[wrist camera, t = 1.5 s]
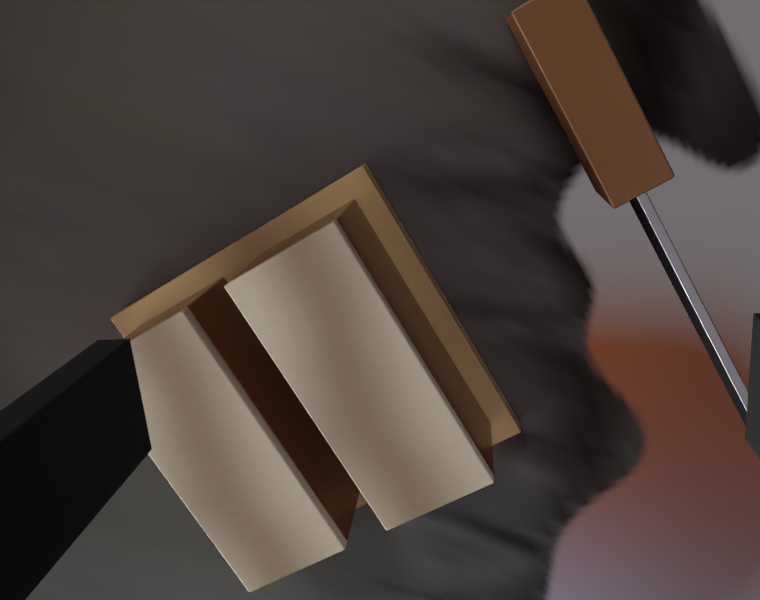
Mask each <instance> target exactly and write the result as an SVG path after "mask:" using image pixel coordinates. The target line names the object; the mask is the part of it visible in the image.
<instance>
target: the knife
mask: <svg viewBox="0 0 760 600" xmlns="http://www.w3.org/2000/svg"><path fill="white" fill-rule="evenodd" d="M506 21H507V23H508V25H509V27H510V29H511V31H512V33H513V35H514V36H515V38H516V40H517V42H518V44H519V46H520V48H521V50H522V52H523V54H524V55H525V57H526V59H527V61H528V63H529V65H530V67H531V69H532V71H533V73H534V74H535V76H536V78H537V80H538V82H539V84H540V86H541V88H542V90H543V92H544V93H545V95H546V97H547V99H548V101H549V103H550V105H551V107H552V109H553V111H554V112H555V114H556V116H557V118H558V120H559V122H560V124H561V126H562V128H563V130H564V132H565V133H566V135H567V137H568V139H569V141H570V143H571V145H572V147H573V149H574V151H575V152H576V154H577V156H578V158H579V160H580V162H581V164H582V166H583V168H584V170H585V171H586V173H587V175H588V177H589V179H590V181H591V183H592V185H593V187H594V188H595V190H596V192H597V193H598V194H599V195H601V197H603V198H604V199H605V200H606V201H607V202H608V203H609V204H610V205H611V206H612V207H613V208H617V207H619V206H621V205H623V204H625V203H627V202H628V201H630V203H631V205H632V207H633V209H634V211H635V213H636V215H637V217H638V219H639V220H640V222H641V224H642V226H643V228H644V230H645V232H646V234H647V236H648V238H649V240H650V242H651V244H652V246H653V248H654V250H655V252H656V253H657V255H658V257H659V259H660V261H661V263H662V265H663V267H664V269H665V271H666V273H667V275H668V277H669V278H670V281H671V282H672V284H673V286H674V288H675V290H676V292H677V294H678V296H679V298H680V300H681V302H682V304H683V306H684V308H685V309H686V312H687V313H688V315H689V317H690V319H691V321H692V323H693V325H694V327H695V329H696V331H697V333H698V335H699V336H700V338H701V340H702V342H703V344H704V346H705V348H706V350H707V352H708V354H709V356H710V358H711V360H712V362H713V364H714V365H715V368H716V369H717V371H718V373H719V375H720V377H721V379H722V381H723V383H724V385H725V387H726V389H727V391H728V393H729V395H730V397H731V399H732V401H733V402H734V404H735V406H736V408H737V410H738V412H739V414H740V416H741V418H742V420H743V422H744V423H745V426H746V417H747V403H748V390H747V389H746V387H745V385H744V383H743V381H742V379H741V377H740V375H739V373H738V371H737V369H736V367H735V366H734V363H733V361H732V359H731V357H730V355H729V353H728V351H727V349H726V348H725V346H724V344H723V341H722V340H721V338H720V336H719V334H718V332H717V330H716V328H715V326H714V324H713V322H712V320H711V318H710V316H709V314H708V312H707V310H706V308H705V306H704V304H703V302H702V300H701V298H700V296H699V294H698V292H697V291H696V289H695V287H694V285H693V283H692V281H691V279H690V277H689V275H688V273H687V271H686V269H685V267H684V265H683V263H682V261H681V259H680V257H679V255H678V253H677V251H676V249H675V248H674V246H673V244H672V242H671V240H670V238H669V236H668V234H667V232H666V230H665V228H664V226H663V224H662V222H661V220H660V218H659V216H658V214H657V212H656V210H655V208H654V206H653V205H652V202H651V200H650V198H649V197H648V195H647V193H646V192H647V191H649V190H651V189H653V188H654V187H657V186H659V185H660V184H662V183H664V182H666V181H668V180H670V179H672V178H673V177H674V173H673V171H672V169H671V167H670V165H669V163H668V161H667V159H666V157H665V155H664V153H663V151H662V149H661V147H660V145H659V143H658V141H657V139H656V137H655V135H654V133H653V131H652V129H651V127H650V125H649V123H648V121H647V119H646V117H645V115H644V113H643V111H642V109H641V107H640V105H639V103H638V101H637V99H636V97H635V95H634V93H633V91H632V89H631V87H630V85H629V83H628V81H627V79H626V77H625V75H624V73H623V71H622V69H621V67H620V65H619V63H618V61H617V59H616V57H615V55H614V53H613V50H612V48H611V46H610V44H609V42H608V40H607V38H606V36H605V34H604V32H603V30H602V28H601V26H600V24H599V22H598V20H597V18H596V16H595V14H594V12H593V10H592V8H591V6H590V4H589V2H588V0H528V1H526V2H525V3H523V4H521V5H520V6H518V7H517V8H515V9H514V10H512V12H511V13H510V14H509V16H508V17H507V19H506Z"/></svg>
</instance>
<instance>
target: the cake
mask: <svg viewBox="0 0 760 600" xmlns="http://www.w3.org/2000/svg"><path fill="white" fill-rule="evenodd" d="M111 320H112V321H113V323H114V324H115V326H116V327H117V328H118V330H119V331H120V333H121V334H122V335H123V337H124V338H123V339H130V342H131V347H132V352H133V357H134V362H135V367H136V372H137V377H138V382H139V387H140V392H141V397H142V402H143V407H144V412H145V417H146V422H147V427H148V432H149V437H150V442H151V447H152V449H151V451H150V452H149V453H148V454H149V456H150V457H151V459H152V460H153V461H154V463H155V464H156V465H157V467H158V468H159V469H160V471H161V472H162V474H163V475H164V476H165V478H166V479H167V480H168V482H169V483H170V485H171V486H172V487H173V489H174V490H175V491H176V493H177V494H178V495H179V497H180V498H181V500H182V501H183V502H184V504H185V505H186V506H187V508H188V509H189V511H190V512H191V513H192V515H193V516H194V517H195V519H196V520H197V521H198V523H199V524H200V526H201V527H202V528H203V530H204V531H205V532H206V534H207V535H208V537H209V538H210V539H211V541H212V542H213V543H214V545H215V546H216V547H217V549H218V550H219V552H220V553H221V554H222V556H223V557H224V558H225V560H226V561H227V563H228V564H229V565H230V567H231V568H232V569H233V571H234V572H235V573H236V575H237V576H238V578H239V579H240V580H241V582H242V583H243V584H244V586H245V587H246V589H247V590H248V591H249V592H252V591H254V590H256V589H258V588H260V587H263V586H265V585H267V584H269V583H272V582H274V581H276V580H278V579H281V578H283V577H285V576H287V575H289V574H292V573H294V572H296V571H298V570H301V569H303V568H305V567H307V566H310V565H312V564H314V563H316V562H318V561H321V560H323V559H325V558H327V557H330V556H332V555H334V554H336V553H339V552H341V551H343V550H345V548H346V544H347V539H348V535H349V531H350V527H351V524H352V520H353V516H354V512H355V509H357V508H359V507H361V506H363V505H365V504H367V503H368V504H369V505H370V507H371V508H372V510H373V511H374V513H375V514H376V516H377V517H378V519H379V520H380V522H381V523H382V525H383V526H384V528H385V529H386V530H387V531H388V530H390V529H392V528H394V527H396V526H399V525H401V524H403V523H405V522H408V521H410V520H412V519H414V518H417V517H419V516H421V515H423V514H426V513H428V512H430V511H432V510H434V509H437V508H439V507H441V506H443V505H446V504H448V503H450V502H452V501H455V500H457V499H459V498H461V497H463V496H466V495H468V494H470V493H472V492H475V491H477V490H479V489H481V488H484V487H486V486H488V485H490V484H492V483H494V475H493V474H494V472H493V454H492V446H493V445H495V444H497V443H499V442H501V441H503V440H506V439H508V438H510V437H512V436H514V435H516V434H519V433H521V428H520V422H519V420H518V418H517V417H516V415H515V413H514V412H513V410H512V408H511V407H510V405H509V403H508V402H507V400H506V398H505V397H504V395H503V393H502V391H501V390H500V388H499V386H498V385H497V383H496V381H495V380H494V378H493V376H492V375H491V373H490V371H489V370H488V368H487V366H486V365H485V363H484V361H483V359H482V358H481V356H480V354H479V353H478V351H477V349H476V348H475V346H474V344H473V343H472V341H471V339H470V338H469V336H468V334H467V333H466V331H465V329H464V328H463V326H462V324H461V322H460V321H459V319H458V317H457V316H456V314H455V312H454V311H453V309H452V307H451V306H450V304H449V302H448V301H447V299H446V297H445V296H444V294H443V292H442V291H441V289H440V287H439V285H438V284H437V282H436V280H435V279H434V277H433V275H432V274H431V272H430V270H429V269H428V267H427V265H426V264H425V262H424V260H423V259H422V257H421V255H420V253H419V252H418V250H417V248H416V247H415V245H414V243H413V242H412V240H411V238H410V237H409V235H408V233H407V232H406V230H405V228H404V227H403V225H402V223H401V222H400V220H399V218H398V216H397V215H396V213H395V211H394V210H393V208H392V206H391V205H390V203H389V201H388V200H387V198H386V196H385V195H384V193H383V191H382V190H381V188H380V186H379V185H378V183H377V181H376V179H375V178H374V176H373V174H372V173H371V171H370V169H369V168H368V166H367V164H366V163H365V164H363V165H361V166H360V167H358V168H356V169H355V170H353V171H351V172H350V173H348V174H346V175H345V176H343V177H341V178H340V179H338V180H336V181H335V182H333V183H332V184H330V185H328V186H327V187H325V188H323V189H322V190H320V191H318V192H317V193H315V194H313V195H312V196H310V197H308V198H307V199H305V200H303V201H302V202H300V203H298V204H297V205H295V206H293V207H292V208H290V209H289V210H287V211H285V212H284V213H282V214H280V215H279V216H277V217H275V218H274V219H272V220H270V221H269V222H267V223H265V224H264V225H262V226H260V227H259V228H257V229H255V230H254V231H252V232H250V233H249V234H247V235H246V236H244V237H242V238H241V239H239V240H237V241H236V242H234V243H232V244H231V245H229V246H227V247H226V248H224V249H222V250H221V251H219V252H217V253H216V254H214V255H212V256H211V257H209V258H207V259H206V260H204V261H203V262H201V263H199V264H198V265H196V266H194V267H193V268H191V269H189V270H188V271H186V272H184V273H183V274H181V275H179V276H178V277H176V278H174V279H173V280H171V281H169V282H168V283H166V284H164V285H163V286H161V287H160V288H158V289H156V290H155V291H153V292H151V293H150V294H148V295H146V296H145V297H143V298H141V299H140V300H138V301H136V302H135V303H133V304H131V305H130V306H128V307H126V308H125V309H123V310H121V311H120V312H118V313H117V314H115V315H114V316H113V317H111Z"/></svg>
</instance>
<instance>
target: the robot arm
mask: <svg viewBox="0 0 760 600" xmlns="http://www.w3.org/2000/svg"><path fill="white" fill-rule="evenodd" d="M750 360H751V361H750V374H749V388H748V403H747V417H746V432H745V433H746V434H745V439H746V440H747V442H748V443H749V444H750V446H751V447H752V449H753V450H754V451H755V453H756V454H757V455H758V457H759V458H760V313H759V314H758V313H756V314H754V316H753V330H752V345H751V359H750ZM151 449H152V447H151V442H150V437H149V432H148V427H147V422H146V417H145V412H144V407H143V402H142V397H141V392H140V387H139V382H138V377H137V372H136V367H135V362H134V357H133V352H132V347H131V342H130V339H116V340H97V341H96V342H95V343H93V344H92V345H91V346H89V347H88V348H86V349H85V350H84V351H82V352H81V353H80V354H78V355H77V356H76V357H74V358H73V359H71V360H70V361H69V362H67V363H66V364H65V365H63V366H62V367H60V368H59V369H58V370H56V371H55V372H54V373H52V374H51V375H49V376H48V377H47V378H45V379H44V380H43V381H41V382H40V383H38V384H37V385H36V386H34V387H33V388H32V389H30V390H29V391H27V392H26V393H25V394H23V395H22V396H21V397H19V398H18V399H16V400H15V401H14V402H12V403H11V404H10V405H8V406H7V407H5V408H4V409H3V410H1V411H0V600H25V599H26V598H27V597H28V596H29V594H30V593H31V592H32V591H33V590H34V588H35V587H36V586H37V585H38V584H39V583H40V581H41V580H42V579H43V578H44V577H45V575H46V574H47V573H48V572H49V571H50V569H51V568H52V567H53V566H54V565H55V564H56V562H57V561H58V560H59V559H60V558H61V556H62V555H63V554H64V553H65V552H66V550H67V549H68V548H69V547H70V546H71V545H72V543H73V542H74V541H75V540H76V539H77V537H78V536H79V535H80V534H81V533H82V531H83V530H84V529H85V528H86V527H87V525H88V524H89V523H90V522H91V521H92V520H93V518H94V517H95V516H96V515H97V514H98V512H99V511H100V510H101V509H102V508H103V506H104V505H105V504H106V503H107V502H108V501H109V499H110V498H111V497H112V496H113V495H114V493H115V492H116V491H117V490H118V489H119V487H120V486H121V485H122V484H123V483H124V482H125V480H126V479H127V478H128V477H129V476H130V474H131V473H132V472H133V471H134V470H135V468H136V467H137V466H138V465H139V464H140V463H141V461H142V460H143V459H144V458H145V457H146V455H147V454H148V453H149V452H150V451H151Z"/></svg>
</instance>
